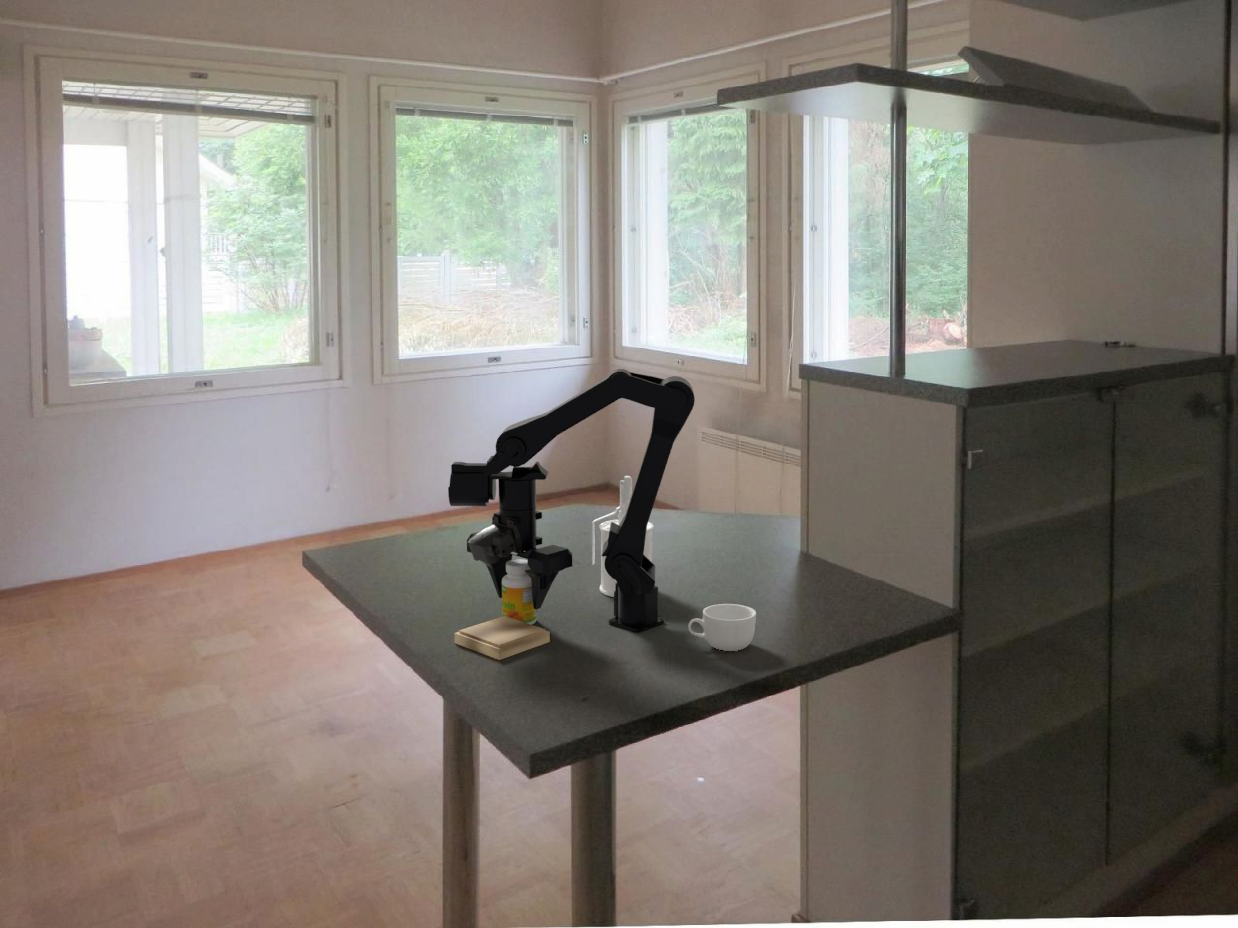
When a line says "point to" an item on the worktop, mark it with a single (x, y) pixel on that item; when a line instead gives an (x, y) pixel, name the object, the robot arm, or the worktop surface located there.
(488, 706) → the worktop surface
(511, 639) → the beige square tray
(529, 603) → the supplement bottle
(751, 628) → the teacup
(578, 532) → the worktop surface
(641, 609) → the robot arm
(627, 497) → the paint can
